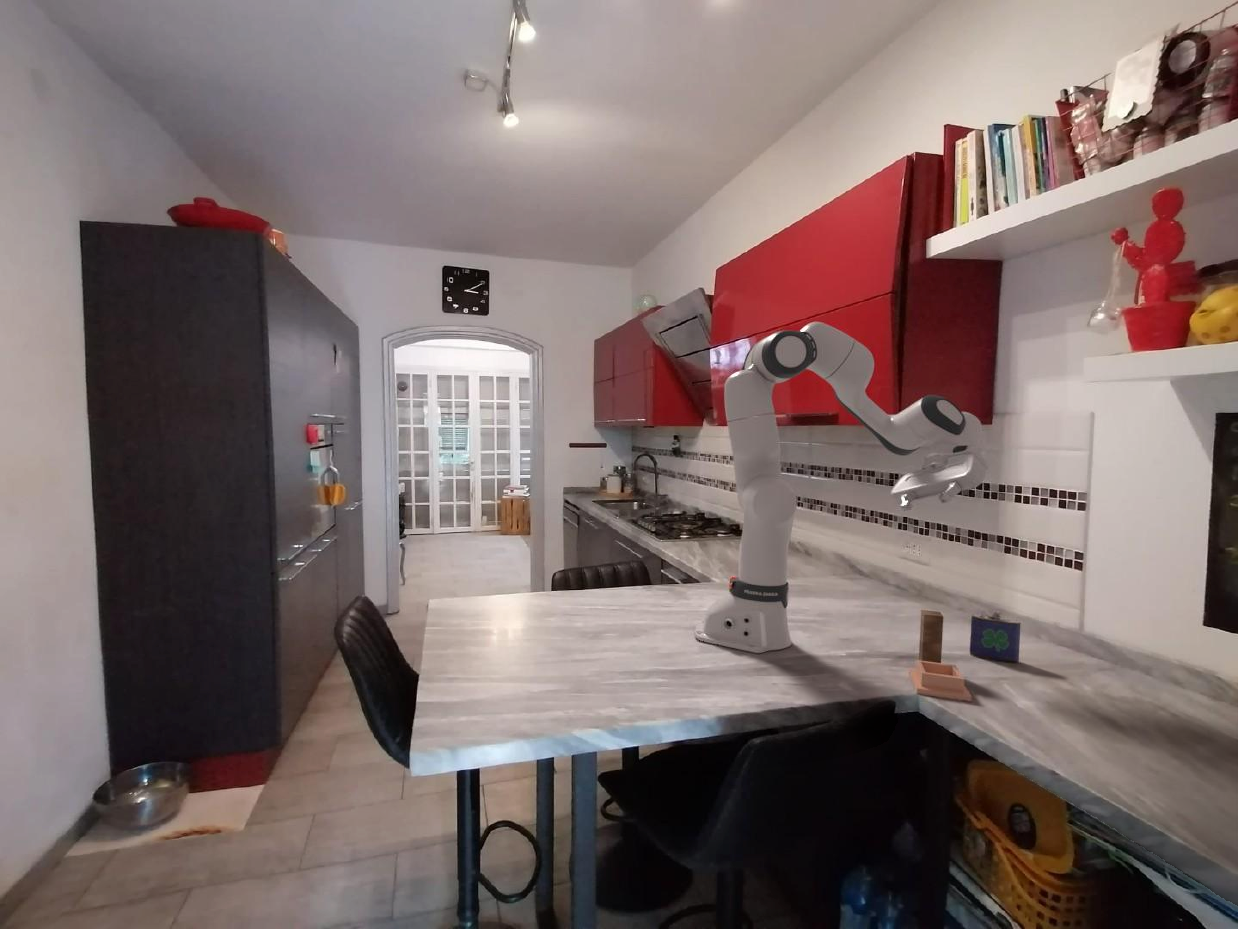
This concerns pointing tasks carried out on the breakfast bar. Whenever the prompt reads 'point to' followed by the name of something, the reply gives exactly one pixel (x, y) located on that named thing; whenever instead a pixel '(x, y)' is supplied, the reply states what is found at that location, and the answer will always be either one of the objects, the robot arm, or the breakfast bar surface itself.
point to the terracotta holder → (938, 680)
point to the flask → (995, 638)
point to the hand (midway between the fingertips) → (923, 505)
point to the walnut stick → (931, 636)
